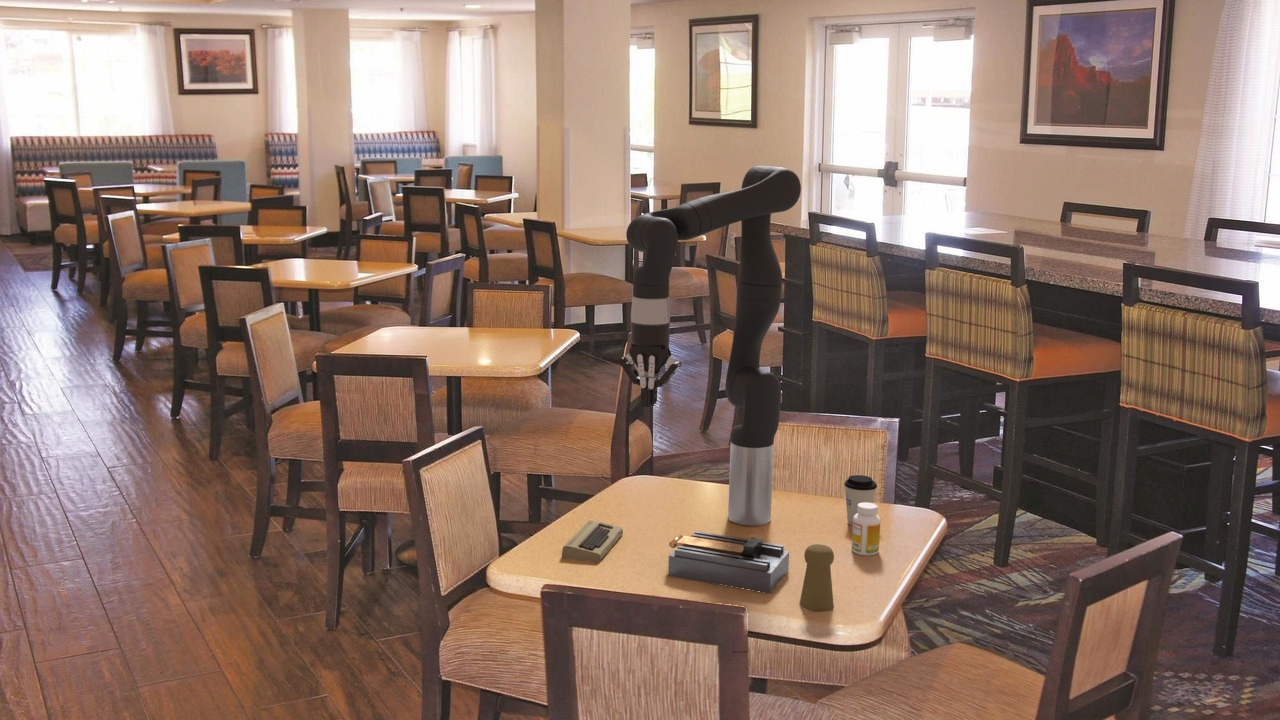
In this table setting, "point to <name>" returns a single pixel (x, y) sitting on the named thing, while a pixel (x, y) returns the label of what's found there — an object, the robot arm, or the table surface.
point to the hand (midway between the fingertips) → (648, 406)
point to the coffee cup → (858, 493)
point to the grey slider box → (732, 564)
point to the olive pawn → (817, 579)
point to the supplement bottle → (866, 529)
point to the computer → (592, 541)
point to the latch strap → (707, 545)
